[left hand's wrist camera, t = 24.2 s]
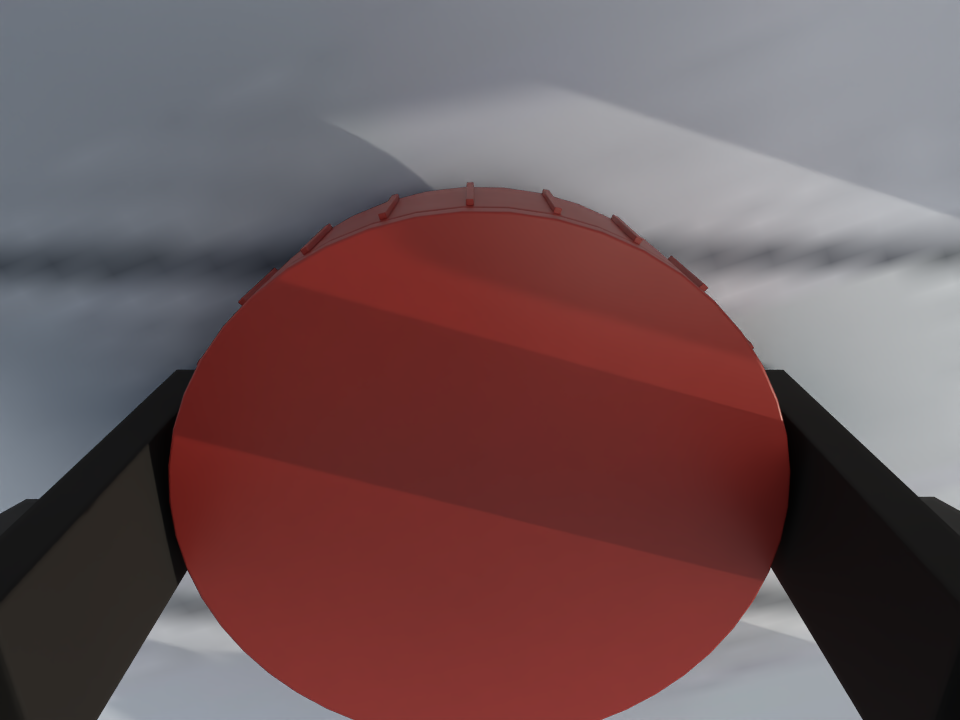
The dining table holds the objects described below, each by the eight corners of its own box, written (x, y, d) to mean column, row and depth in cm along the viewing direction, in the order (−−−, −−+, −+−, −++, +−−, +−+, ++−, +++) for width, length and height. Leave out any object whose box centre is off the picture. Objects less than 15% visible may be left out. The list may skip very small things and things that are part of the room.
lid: (339, 67, 11) (304, 62, 8) (848, 339, 12) (932, 396, 10) (149, 540, 14) (87, 628, 12) (574, 703, 16) (591, 807, 13)
